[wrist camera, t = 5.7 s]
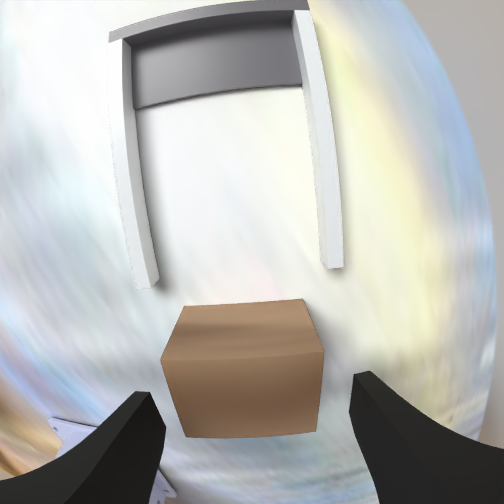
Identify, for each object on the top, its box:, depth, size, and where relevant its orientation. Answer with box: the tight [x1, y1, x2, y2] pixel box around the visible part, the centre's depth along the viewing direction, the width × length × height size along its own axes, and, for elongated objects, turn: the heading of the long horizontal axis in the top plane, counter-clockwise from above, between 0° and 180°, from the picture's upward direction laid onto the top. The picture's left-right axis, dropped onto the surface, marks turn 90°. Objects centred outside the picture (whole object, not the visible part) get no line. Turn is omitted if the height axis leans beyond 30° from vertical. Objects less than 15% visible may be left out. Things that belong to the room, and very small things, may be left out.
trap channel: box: [108, 0, 344, 290], centre depth 9 cm, size 11×8×1 cm
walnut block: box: [160, 299, 324, 438], centre depth 10 cm, size 4×5×4 cm
